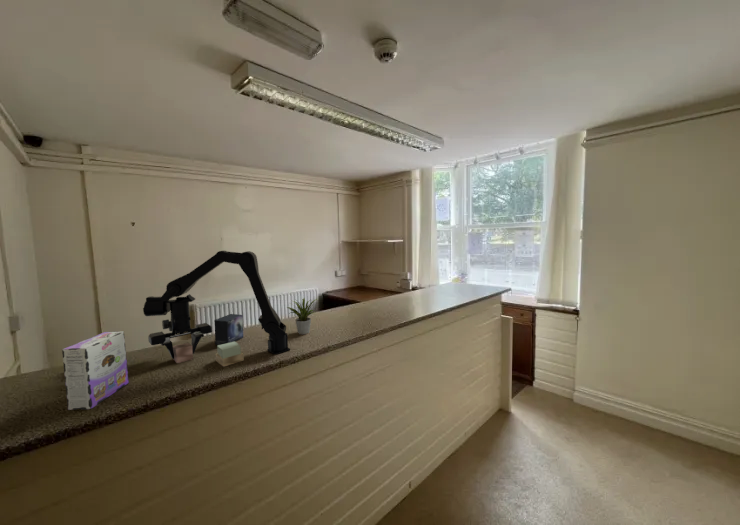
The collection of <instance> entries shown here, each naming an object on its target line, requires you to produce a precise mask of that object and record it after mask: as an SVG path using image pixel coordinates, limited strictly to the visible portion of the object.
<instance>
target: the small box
mask: <svg viewBox="0 0 740 525" xmlns="http://www.w3.org/2000/svg"><path fill="white" fill-rule="evenodd" d="M243 318H244V316H243V314H235V313H229V314H227V315H223V316H221V317H219V318H216V319H214V344H215V345H217V346H218V345H222V344H226V343H230V342H234V341H235V342H236V343H237V341H240V340H242V339H244V321H243V320H244V319H243Z"/></svg>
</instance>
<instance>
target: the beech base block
mask: <svg viewBox="0 0 740 525" xmlns="http://www.w3.org/2000/svg"><path fill="white" fill-rule="evenodd" d="M244 358H245V357H244V353H243V352H242V351H241V354H239V355H235V356H231V357H227V358H224V359H223V358H222V357H221V356H220V355H219V354H218V352H217V353H215V361H216V362H217V363H218V364H219V365H220V366H221V367H227V366H230V365H233V364H237V363H241V362H243V361H244V360H245V359H244Z"/></svg>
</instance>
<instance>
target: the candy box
mask: <svg viewBox="0 0 740 525" xmlns="http://www.w3.org/2000/svg"><path fill="white" fill-rule="evenodd" d="M125 337H126V336H125V331H124V330H121V331H103V332H102V333H99V334H97V335H94V336H92V337H89V338H87V339H84V340H81V341H79V342H77V343H74V344H72V345H70V346H69V345H68V346H67V347H65V348H62V349H61V353H62V362H63V374H64V382H65V383H64V384H65V391H66V392H65V394H66V403H67V410H68V411H70V410H71V411H74V410H75V411H77V409H81V410H90V409H93V408H94V407H96V406H97V405H99V404H100V403H102V402H103V401H104V400H106V399H107V398H109V397H110V396H112V395H113V394H115V393H116V392H118V391H119V390H120V389H121V388H124V387H125V386H126V385H127V384H129V370H128V361H127V350H126V349H127V348H126V340H125Z"/></svg>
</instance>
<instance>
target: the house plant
mask: <svg viewBox="0 0 740 525" xmlns="http://www.w3.org/2000/svg"><path fill="white" fill-rule="evenodd" d="M301 299H302V303H300V302H299V301H298V300H297V299H295V301H294V300H292V302H293V303H290V302H289V304H290V305H292V306H294V304H295V305H296V306H297V310H296V308H295V309H294V308H292V307H290V306H286V308H287V309H289V310H290V311H291V312H289V314H295V315H296V316H297V318H296V319H295V325H296V329H297V330H296V331H297V334H298V333H299V334H298V335H308V334H309V333H310V332H311V331H310V330H311V322H312V318H311V317H309V316H310V315H313V314H314V312H316V310H314V309H311V308H312V305H313V304H314V303H315V301H317V300H318V298H316V299H314V300H313V299H312V300H311V299H310V300H307V301H306V300H305V297H302V298H301ZM310 301H311V302H310ZM305 302H306V303H305ZM309 302H310V303H309ZM308 303H309V304H308ZM313 311H314V312H313ZM307 333H308V334H307Z"/></svg>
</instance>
